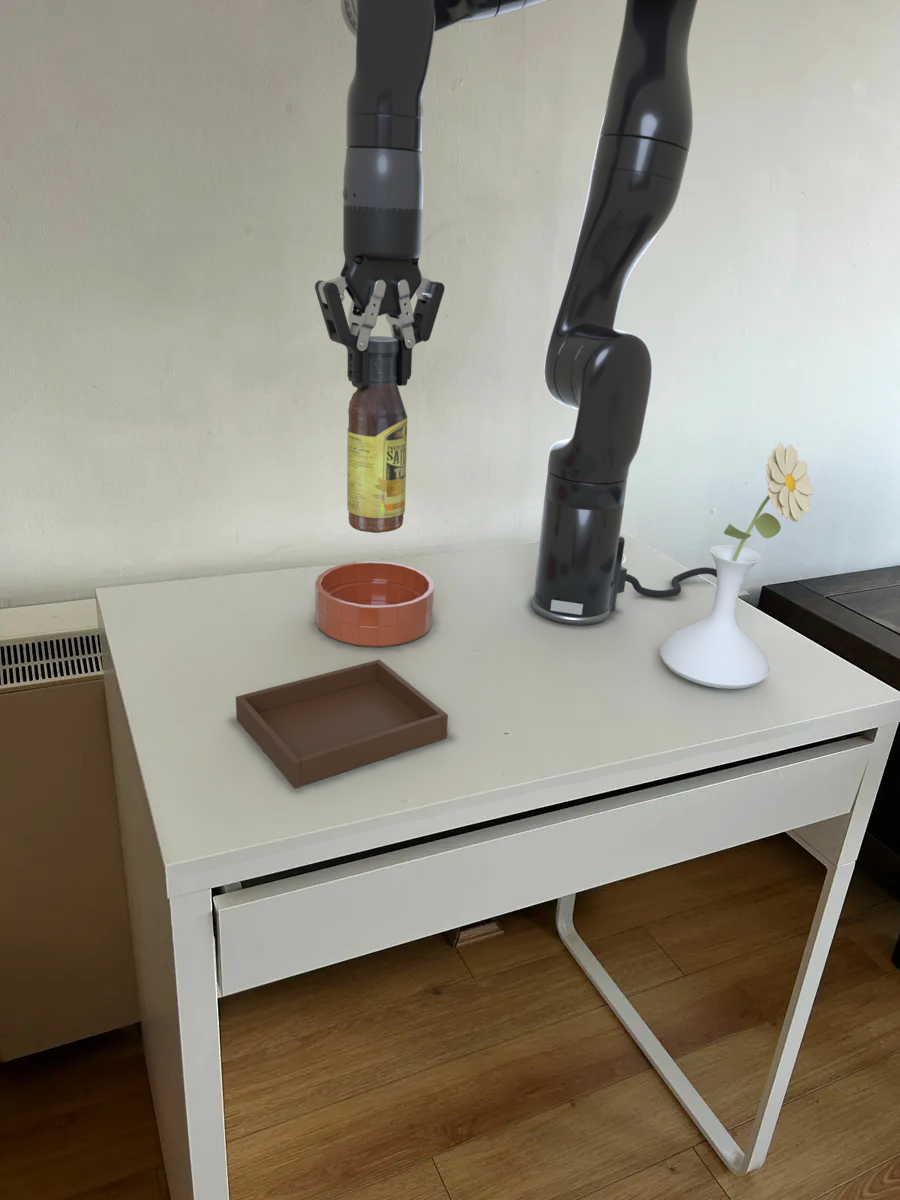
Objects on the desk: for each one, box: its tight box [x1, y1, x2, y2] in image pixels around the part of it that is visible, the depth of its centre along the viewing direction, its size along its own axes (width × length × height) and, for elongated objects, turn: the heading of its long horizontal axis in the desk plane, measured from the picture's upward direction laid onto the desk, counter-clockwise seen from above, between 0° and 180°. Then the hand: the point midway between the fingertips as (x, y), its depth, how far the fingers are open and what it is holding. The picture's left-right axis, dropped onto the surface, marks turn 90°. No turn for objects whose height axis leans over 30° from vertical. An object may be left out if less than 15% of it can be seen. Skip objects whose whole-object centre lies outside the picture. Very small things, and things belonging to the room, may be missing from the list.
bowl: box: [314, 560, 435, 648], centre depth 102 cm, size 13×13×5 cm
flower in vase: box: [659, 442, 815, 690], centre depth 92 cm, size 13×11×25 cm
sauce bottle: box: [346, 335, 408, 534], centre depth 94 cm, size 7×6×20 cm
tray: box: [235, 659, 449, 789], centre depth 82 cm, size 15×12×2 cm
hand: (379, 385), depth 92 cm, fingers closed on sauce bottle, 4 cm apart
